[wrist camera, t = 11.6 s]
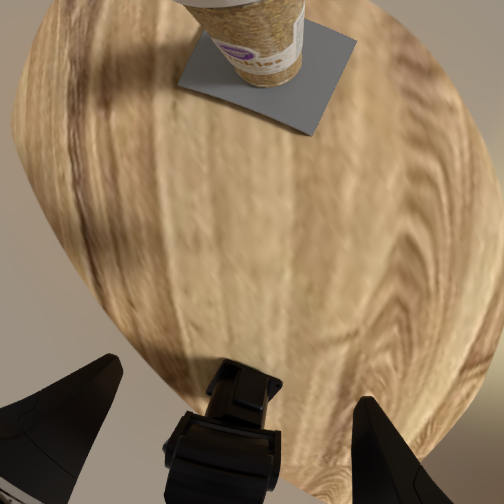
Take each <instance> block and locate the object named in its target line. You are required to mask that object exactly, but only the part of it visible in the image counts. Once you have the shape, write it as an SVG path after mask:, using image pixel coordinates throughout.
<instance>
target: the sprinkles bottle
mask: <svg viewBox="0 0 504 504" xmlns="http://www.w3.org/2000/svg"><path fill="white" fill-rule="evenodd" d="M173 1H175V2H177V3H180V4H183V5H184V6H185V7H186V9H187V10H188V11H189V12H190V13H191V15H193V17H194V18H195V19H196V20H197V22H199V23H200V24H201V26H202V27H203V28H204V29H205V30H206V32H207V33H208V34H209V36H210V37H211V39H212V41H213V42H214V43H215V44H216V46H217V47H218V48H219V49H220V51H221V52H222V53H223V54H224V56H225V57H226V58H227V59H228V60H229V62H230V63H231V64H233V65H234V68H235V71H236V72H237V74H239V76H240V77H241V78H242V79H244V80H245V81H246V82H248V83H249V84H251V85H255V86H257V87H265V88H270V87H276V86H280V85H283V84H285V83H287V82H289V81H290V80H291V79H292V78H293V77H295V76H296V74H297V73H298V71H299V69H300V68H301V65H302V52H301V50H302V45H303V27H304V11H305V0H173Z"/></svg>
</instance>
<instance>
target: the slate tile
mask: <svg viewBox="0 0 504 504" xmlns="http://www.w3.org/2000/svg"><path fill="white" fill-rule="evenodd" d="M356 43H357V41H356V40H354V39H352V38H350V37H348V36H345V35H343V34H341V33H339V32H337V31H334V30H332V29H330V28H327V27H325V26H322V25H320V24H317V23H315V22H312V21H309V20H307V19H304V27H303V45H302V50H301V52H302V65H301V68H300V69H299V71H298V73H297V74H296V76H295V77H293V78H292V79H291V80H290V81H289V82H287V83H285V84H283V85H280V86H276V87H270V88H265V87H257V86H255V85H251V84H249V83H248V82H246V81H245V80H244V79H242V78H241V77H240V76H239V74H237V72H236V71H235V68H234V65H233V64H231V63H230V62H229V60H228V59H227V58H226V57H225V56H224V54H223V53H222V52H221V51H220V49H219V48H218V47H217V46H216V44H215V43H214V42H213V41H212V39H211V37H210V36H209V34H208V33H207V32H206V30H205V29H204V31H203V33H202V35H201V37H200V39H199V41H198V42H197V44H196V46H195V48H194V50H193V52H192V54H191V56H190V58H189V60H188V63H187V65H186V67H185V69H184V71H183V73H182V75H181V78H180V80H179V82H178V84H177V85H179V86H181V87H183V88H187V89H190V90H193V91H197V92H200V93H203V94H206V95H209V96H212V97H215V98H218V99H221V100H224V101H227V102H230V103H233V104H236V105H238V106H241V107H244V108H246V109H249V110H251V111H254V112H257V113H259V114H262V115H264V116H266V117H269V118H271V119H274V120H276V121H278V122H281V123H283V124H285V125H287V126H290V127H292V128H294V129H296V130H298V131H301V132H303V133H305V134H307V135H309V136H312V135H313V133H314V131H315V129H316V127H317V125H318V123H319V121H320V119H321V117H322V115H323V112H324V110H325V108H326V106H327V104H328V102H329V100H330V98H331V96H332V93H333V91H334V89H335V87H336V85H337V83H338V81H339V79H340V77H341V74H342V72H343V70H344V68H345V66H346V64H347V62H348V60H349V58H350V55H351V53H352V51H353V49H354V47H355V45H356Z"/></svg>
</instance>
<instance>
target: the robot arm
mask: <svg viewBox="0 0 504 504" xmlns="http://www.w3.org/2000/svg"><path fill="white" fill-rule="evenodd" d="M226 364H228V365H226ZM122 375H123V368H122V365H121V362H120V360H119V357H118V356H116V355H114V354H111V353H108V354H106V355H104V356H102V357H100V358H98V359H97V360H95V361H93V362H91V363H90V364H88V365H86V366H84V367H82V368H80V369H79V370H77V371H75V372H73V373H71V374H70V375H68V376H66V377H64V378H62V379H60V380H59V381H57V382H55V383H53V384H51V385H50V386H47V387H46V388H44V389H42V390H41V391H38V392H36V393H35V394H32V395H30V396H28V397H26V398H24V399H22V400H20V401H17V402H15V403H12V404H10V405H7V406H5V407H2V408H0V504H43V503H44V504H68V501H69V499H70V496H71V494H72V491H73V488H74V486H75V484H76V482H77V479H78V476H79V474H80V472H81V470H82V467H83V465H84V463H85V460H86V458H87V456H88V454H89V451H90V449H91V447H92V445H93V443H94V440H95V438H96V436H97V434H98V432H99V430H100V428H101V426H102V424H103V422H104V420H105V418H106V415H107V413H108V411H109V409H110V407H111V405H112V403H113V400H114V397H115V394H116V392H117V389H118V386H119V384H120V381H121V378H122ZM282 386H283V382H282V381H281V380H278V379H276V378H273V377H270V376H267V375H265V374H262V373H260V372H257V371H254V370H252V369H249V368H247V367H244V366H242V365H240V364H237V363H235V362H232V361H230V360H224V361H223V362H222V364H221V366H220V367H219V369H218V371H217V373H216V374H215V376H214V378H213V379H212V381H211V383H210V385H209V386H208V388H207V390H206V394H207V395H208V396H210V397H211V398H210V401H209V404H208V407H207V410H206V413H205V416H201V415H198V414H194V413H193V412H190V411H187V412H186V413H185V415H184V417H183V416H182V418H181V419H180V421H179V423H178V425H177V427H176V428H175V430H174V432H173V433H172V435H171V437H170V438H169V439H168V440H167V441H166V442H165V444H164V445H163V448H162V450H163V452H164V453H165V467H166V468H168V469H170V470H169V474H168V478H167V483H166V487H165V492H164V498H165V502H166V504H263V502H264V499H265V495H266V492H267V491H270V492H272V491H273V490H274V488H275V486H276V483H277V480H278V477H279V472H280V465H281V431H278V430H275V431H272V430H266V429H264V425H265V418H266V412H267V405H268V402H269V401H270V400H271V399H272V398H273V397H274V396H275V395H276V393H277V392H278V391H279V390H280V389H281V388H282ZM351 460H352V504H454V503H453V502H452V501H451V500H450V499H449V498H448V497H447V496H446V495H445V494H444V493H443V491H442V490H441V489H440V488H439V487H438V486H437V485H436V484H435V482H434V481H433V480H432V479H431V477H430V476H429V475H428V473H427V472H426V470H425V469H424V468H423V466H422V465H420V462H419V461H418V459H417V458H416V456H415V455H414V453H413V452H412V451H411V449H410V448H409V446H408V445H407V444H406V442H405V441H404V439H403V438H402V436H401V435H400V434H399V432H398V431H397V429H396V428H395V427H394V425H393V424H392V422H391V421H390V420H389V418H388V417H387V415H386V414H385V413H384V411H383V410H382V408H381V407H380V406H379V404H378V403H377V401H376V400H375V399H374V397H372V396H362V397H361V398H360V400H359V401H358V403H357V405H356V407H355V408H354V411H353V427H352V443H351Z"/></svg>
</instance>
